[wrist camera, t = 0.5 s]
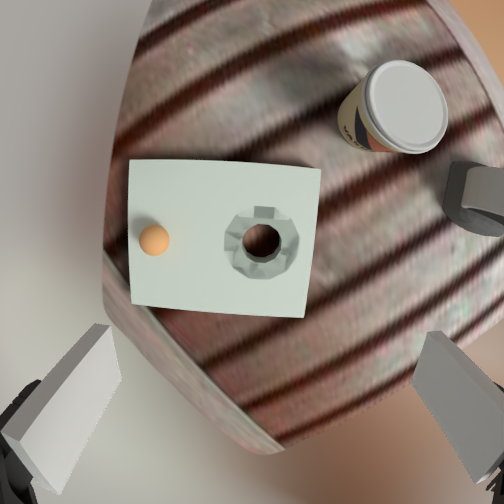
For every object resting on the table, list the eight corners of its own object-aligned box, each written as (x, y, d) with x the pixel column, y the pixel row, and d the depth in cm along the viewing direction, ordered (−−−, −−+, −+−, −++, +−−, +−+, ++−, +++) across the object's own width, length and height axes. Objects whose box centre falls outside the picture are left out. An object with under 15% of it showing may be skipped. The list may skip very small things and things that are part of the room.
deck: (138, 296, 38) (131, 303, 36) (137, 160, 34) (129, 159, 31) (300, 309, 39) (303, 317, 36) (316, 169, 34) (321, 169, 32)
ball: (145, 221, 33) (134, 226, 30) (173, 222, 33) (164, 228, 30) (145, 250, 34) (134, 258, 31) (172, 252, 34) (164, 260, 31)
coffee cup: (319, 136, 33) (350, 118, 22) (345, 75, 31) (382, 39, 19) (383, 171, 34) (434, 172, 22) (405, 111, 32) (458, 93, 20)
